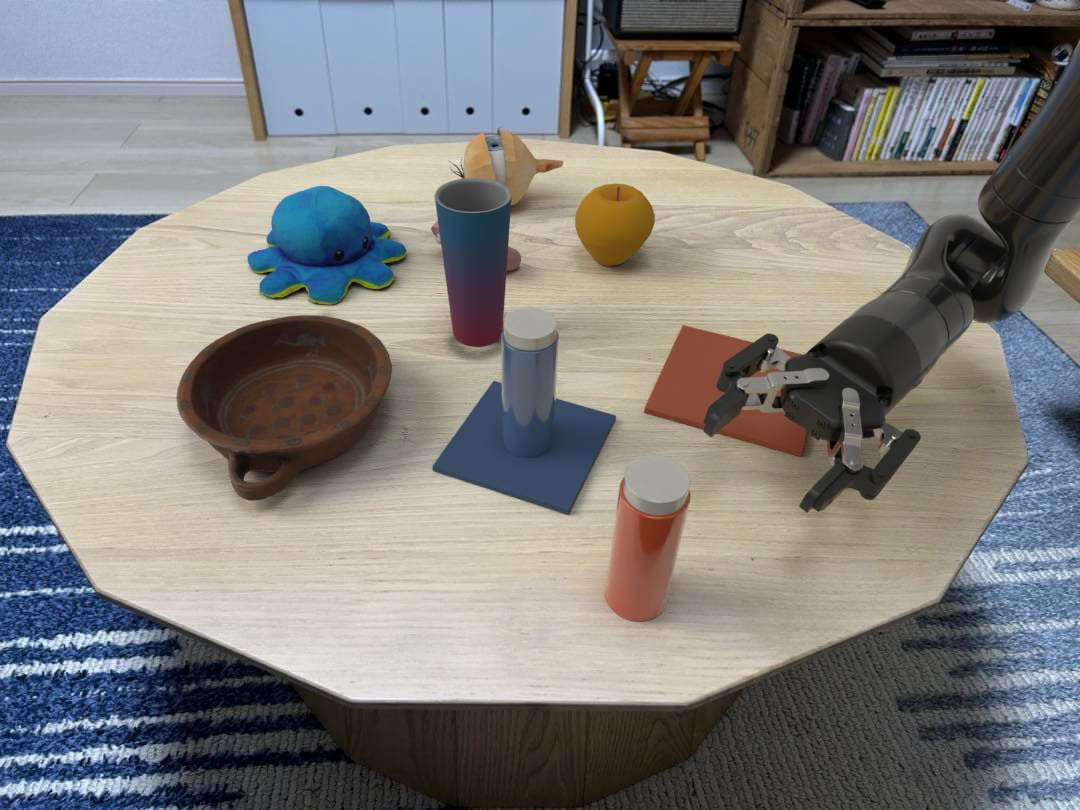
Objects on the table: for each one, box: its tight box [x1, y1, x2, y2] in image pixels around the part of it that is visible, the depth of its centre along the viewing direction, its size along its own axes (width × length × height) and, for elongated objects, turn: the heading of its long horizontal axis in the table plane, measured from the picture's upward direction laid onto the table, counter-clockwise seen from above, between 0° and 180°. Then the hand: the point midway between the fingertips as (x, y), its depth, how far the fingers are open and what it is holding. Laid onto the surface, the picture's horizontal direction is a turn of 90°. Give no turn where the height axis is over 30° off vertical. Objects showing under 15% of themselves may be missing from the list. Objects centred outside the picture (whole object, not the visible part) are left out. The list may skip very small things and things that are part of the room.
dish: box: [176, 314, 393, 502], centre depth 66 cm, size 17×22×5 cm
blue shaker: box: [500, 307, 560, 458], centre depth 61 cm, size 4×4×12 cm
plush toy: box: [247, 185, 408, 306], centre depth 84 cm, size 17×17×8 cm
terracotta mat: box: [643, 324, 808, 457], centre depth 72 cm, size 14×14×1 cm
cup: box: [434, 178, 512, 347], centre depth 73 cm, size 7×7×15 cm
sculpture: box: [449, 125, 565, 207], centre depth 96 cm, size 9×9×15 cm
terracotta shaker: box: [604, 454, 692, 622], centre depth 51 cm, size 4×4×12 cm
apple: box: [574, 183, 656, 267], centre depth 86 cm, size 9×9×9 cm
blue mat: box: [432, 380, 617, 515], centre depth 66 cm, size 12×12×1 cm
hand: (756, 464), depth 54 cm, fingers open, 8 cm apart
